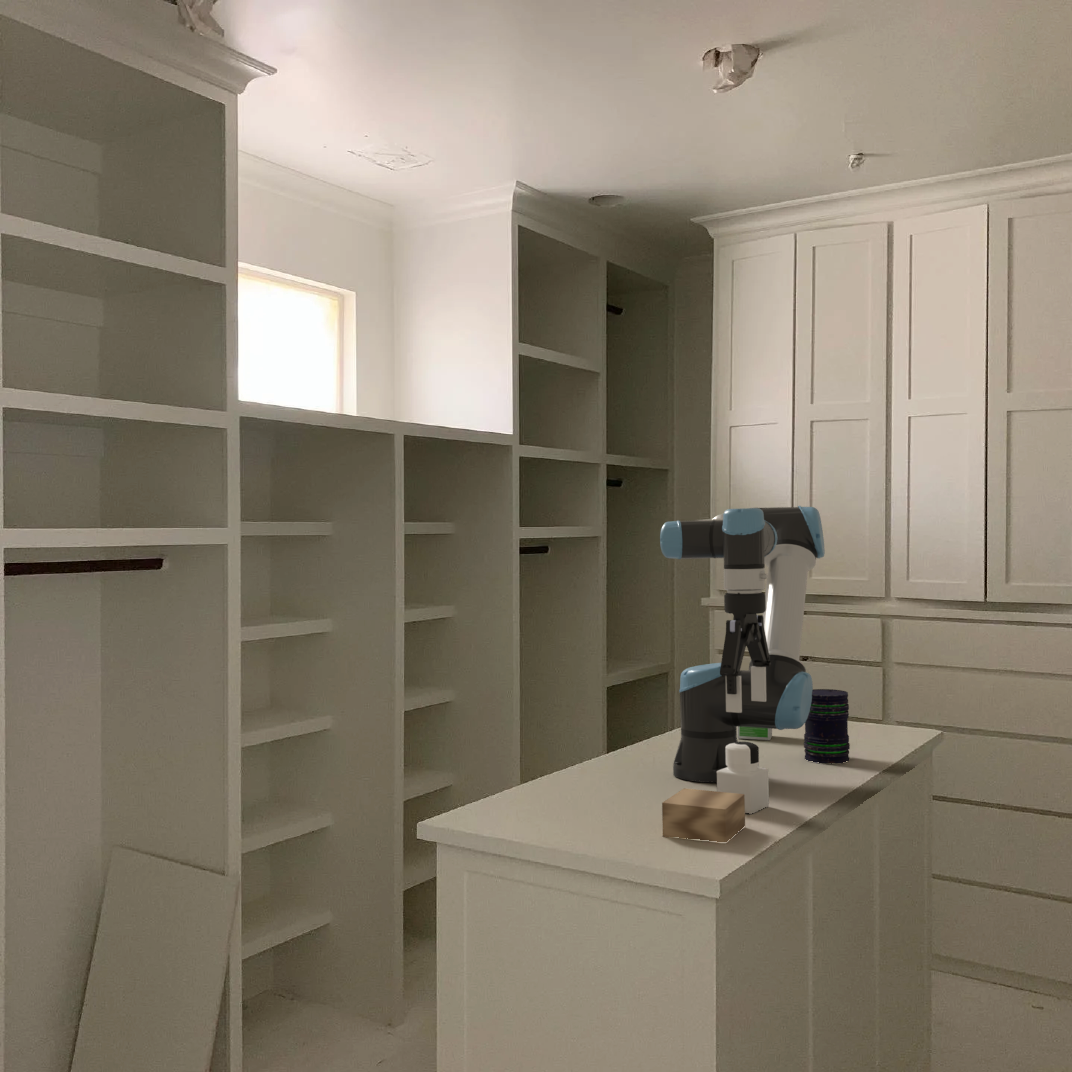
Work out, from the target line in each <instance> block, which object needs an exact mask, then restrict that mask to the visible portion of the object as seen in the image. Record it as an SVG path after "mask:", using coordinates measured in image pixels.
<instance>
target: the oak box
mask: <svg viewBox="0 0 1072 1072" xmlns="http://www.w3.org/2000/svg"><path fill="white" fill-rule="evenodd" d="M661 811H662V812H661V813H662V814H661V815H662V819H661V820H662V837H663V836H664V837H663V838H669V837H679V838H686V839H687V838H688V839H700V840H709V841H717V842H727V841H728V840H729V839H731V838H732V837H733V836H734V835H735V834H737V833H738V831H740V830H741V829H742V828H743V827H744V826H745V827H746V814H745V795H744V794H737V793H727V792H717V790H716V791H715V790H705V789H704V790H703V789H694V788H686V787H684V788H682V789H681V790H680V791H678V792H676V793H675V794H673V795H671V796H670V797H669V798H667V799H665V800H664V801H662V802H661ZM740 832H741V831H740ZM738 834H739V833H738ZM738 834H737V835H738ZM731 840H732V839H731Z"/></svg>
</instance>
